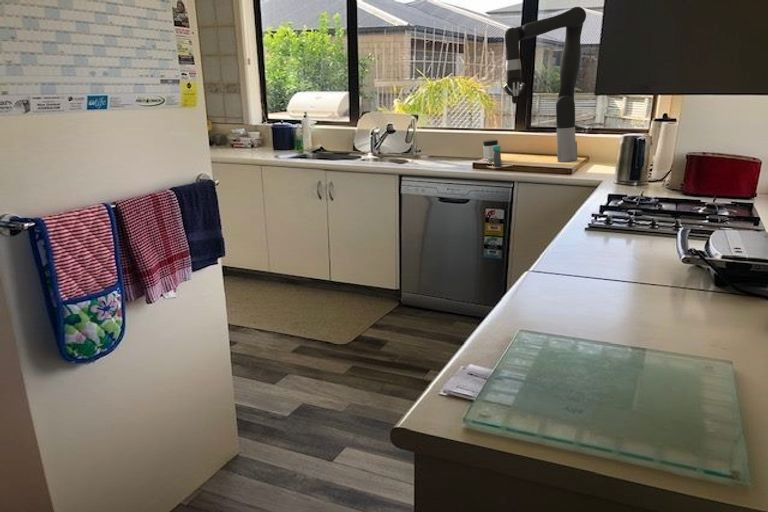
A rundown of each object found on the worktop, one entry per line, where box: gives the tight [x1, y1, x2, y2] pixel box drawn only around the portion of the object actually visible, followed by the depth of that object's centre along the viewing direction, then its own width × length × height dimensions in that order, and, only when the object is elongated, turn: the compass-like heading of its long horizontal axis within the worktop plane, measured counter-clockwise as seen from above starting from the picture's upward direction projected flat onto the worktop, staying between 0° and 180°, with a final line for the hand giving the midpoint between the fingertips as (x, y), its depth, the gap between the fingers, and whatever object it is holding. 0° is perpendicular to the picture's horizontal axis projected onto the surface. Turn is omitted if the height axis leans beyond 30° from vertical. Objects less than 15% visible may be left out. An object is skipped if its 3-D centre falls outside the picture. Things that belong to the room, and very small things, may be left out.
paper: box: [485, 164, 514, 169], centre depth 319 cm, size 12×9×1 cm
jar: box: [482, 139, 499, 160], centre depth 338 cm, size 9×8×12 cm
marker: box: [493, 144, 502, 167], centre depth 316 cm, size 4×4×11 cm
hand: (515, 103), depth 310 cm, fingers closed
